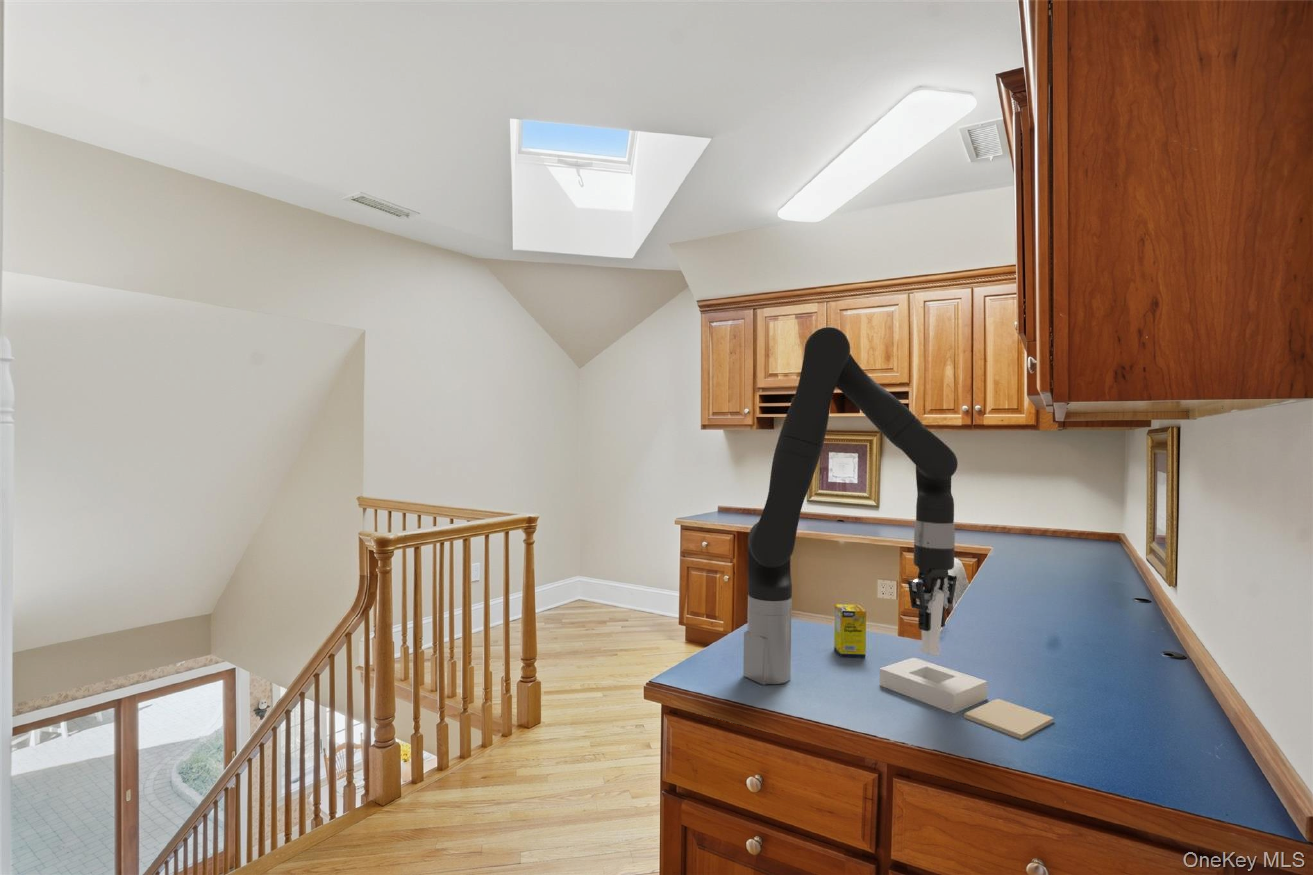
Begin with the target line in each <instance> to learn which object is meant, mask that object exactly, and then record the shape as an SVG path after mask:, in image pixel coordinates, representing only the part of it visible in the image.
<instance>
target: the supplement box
mask: <svg viewBox="0 0 1313 875" xmlns="http://www.w3.org/2000/svg"><path fill="white" fill-rule="evenodd" d="M866 631H867V611H866V610H865V609H864V608H863V607H862V606H861V605H859V604H841V603H840V604H835V605H834V638H833V640H834V645H833V646H834V648H833V649H834V650H835V651H836V652H837V654H838V655H839V656H840V657H841V658H866V656H867V655H866V650H867V649H866V647H867V645H866V644H867V643H866V642H867V639H866V638H867V637H866V636H867V632H866Z"/></svg>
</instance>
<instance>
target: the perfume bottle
mask: <svg viewBox="0 0 1313 875" xmlns="http://www.w3.org/2000/svg"><path fill="white" fill-rule="evenodd" d="M924 595H925V596H930V595H931V593H924ZM943 602H944V593H943V592H942V591H941V590H939V589H938V590H937V595H936V600H935V601H934V602H933V603H932V608H931V612H930V613H931V629H930V631H924V630H921V629H920V630H921V645H920V648H919V652H922V653H924V654H925V655H930V656H931V655H932V656H934V655H935V656H937V655H938V656H940V655H941V651H940V646H939V645H940V636H941V628H942V627H941V620H942V611H943ZM925 603H926V604H927V600H925Z"/></svg>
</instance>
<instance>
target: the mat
mask: <svg viewBox="0 0 1313 875" xmlns="http://www.w3.org/2000/svg"><path fill="white" fill-rule="evenodd" d="M963 717H964V719H967V720H969V721H972V722H974V723H978V724H980V725H983V726H985V727H987V728H991V729H993V730H996V731H998V732H1000V733H1003V734H1006V735H1009V736H1011V737H1014V738H1016V739H1019V740H1023V739H1025V738H1027V737H1029V736H1030V735H1033V734H1034V733H1036V732H1038V731H1040V730H1042V729H1043V728H1045V727H1047V726H1049V725H1051V724H1053V723H1054V717H1053V716H1051V715H1046V714H1045V713H1041V712H1038V711H1035V710H1032V709H1029V708H1027V707H1024V706H1021V705H1018V704H1015V703H1012V702H1008V701H1006V700H1003V699H1000V698H996V699H993V700H991V701H989V702H986V703H984V704H982V705H980V706H977V707H975V708H973V709H971V710H968V711H966V712H965V713H964V715H963Z"/></svg>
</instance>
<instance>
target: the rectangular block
mask: <svg viewBox="0 0 1313 875" xmlns="http://www.w3.org/2000/svg"><path fill="white" fill-rule="evenodd" d="M879 686H880V687H883V688H886V689H889V690H890V691H894V692H896V693H899V694H901V695H904V696H907V697H909V698H912V699H914V700H917V701H920V702H922V703H925V704H926V705H927V704H928V705H931V706H932V707H935V708H938V709H941V710H944V711H945V712H949V713H952V714H957V713H959V712H961V711H963V710H966V709H967V708H968V709H969V707H972V706H975V705H977V704H979V703H981V702H984V701H985V700H988V681H987V680H985V679H981V678H979V677H975V676H972V675H969V674H966V673H963V672H960V671H957V670H955V669H954V670H953V669H951V668H948V667H944V666H941V665H938V664H935V663H932V662H929V661H926V660H923V659H920V658H916V657H910V658H907V659H904V660H901V661H899V662H895V663H892V664H889V665H887V666H884V667H880V668H879Z"/></svg>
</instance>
